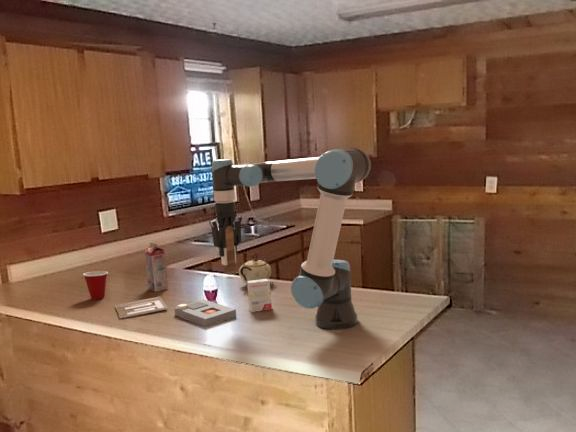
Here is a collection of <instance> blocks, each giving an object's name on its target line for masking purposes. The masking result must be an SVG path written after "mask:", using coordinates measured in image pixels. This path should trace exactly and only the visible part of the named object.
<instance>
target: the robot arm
mask: <svg viewBox="0 0 576 432" xmlns="http://www.w3.org/2000/svg"><path fill="white" fill-rule="evenodd" d="M371 164H372V163H371V160H370V157H369V156H368V154H367V152H365V151H364V150H363V149H360V148H358V147H346V148H335V149H331V150H328V151H326V152H323V154H321V155H320V156H313V157H311V156H310V157H303V158H293V159H282V160H267V161H262V162H256V163H248V164H233V160H232V159H230V158H228V159H227V158H224V159H215V160H213V161H212V162H211V169H212V170H211V174H212V184H213V199H214V202H215V203H214V211H215V217H214V219H213V220H210V221H209V223H208V224H209V225H210V227H211V234H212V240H213V247H215V248H218V253H219V257H220V259H221V265H222V266H223V265H227V251H226V248H225V247H224V245H225V229H227V226H230V225H231V226H232V227H233V235H234V250H235V264H237V253H238V246H239V244H240V243H241V242H242V220H243V217H242V216H239V215H237V214H236V202H235V200H236V197H235V186H236V187H257V186H259V184H263V183H270V182H271V183H273V182H285V181H286V182H287V181H300V180H312V179H313V180H315V179H316V182H317V187H316V188H317V190H318V191H319V193H320V196H319V200H318V201H319V202H318V205H317V210H316V216H315V220H314V225H313V229H312V234H311V239H310V245H309V250H308V253H307V257H306V258H307V259H306V260H305V261H304V262H302V263H301V265H300V268H299V269H300V270H299V273H298V275H297V276H296V277H294V279H293V280H292V282H291V284H290V290H291V296H292V297H293V298H294V301H295V303H297V304H298V305H299V306H300V307H302V308H305V309H308V310H309V309H314V308H317V309H316V310H317V311H316V315H315V317H314V318H315V325H316V326H317V327H319V328H321V329H326V330H342V329H349V328H352V327H353V326H356V325H357V324H358V314H357V313H356V311H355V310H356V309H355V307H354V304H353V301H352V282H351V281H352V279H351V266H350V263H349V261H348V260H343V259H335V254H336V249H337V246H338V240H339V237H340V236H339V235H340V232H341V227H342V222H343V218H344V213H345V209H346V205H347V200H348V199H349V198H350V197H352V196H353V195H354V190H355V187H356V184H357V183H359V182H362V181H363V180H364V179H366V178H367V177H368V175H369V174H370V171H371V167H372V165H371Z"/></svg>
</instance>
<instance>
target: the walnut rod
mask: <svg viewBox="0 0 576 432" xmlns="http://www.w3.org/2000/svg"><path fill="white" fill-rule="evenodd" d="M224 247H225V248H226V251H227V265H222V272H223V273H222V274H226V275H231V274H236V273H237V266H236V264H237V263H235V250H234V235H233V227H232V226H231V225H230V226H227V229H225V245H224Z"/></svg>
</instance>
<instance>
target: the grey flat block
mask: <svg viewBox="0 0 576 432" xmlns="http://www.w3.org/2000/svg"><path fill="white" fill-rule="evenodd" d="M209 310H215V311H216V312H214V313H211V314H206V313H205V312H206V311H209ZM174 316H177V317H179V318H182V319H184V320H187V321H189V322H192V323H195V324H197V325H199V326H202V327H205V328H206V327H210V326H214V325H216V324H219V323H222V322H226V321H229V320H231V318H232V319H235V318H237V309H235V308H232V307H229V306H226V305H223V304H220V303H216V302H213V301H211V300H207V299H201V300H198V301H194V302H191V303H187V304H186V303H181V304H178V305H177V306H176V307H174ZM234 317H235V318H234ZM228 319H229V320H228ZM225 320H226V321H225Z"/></svg>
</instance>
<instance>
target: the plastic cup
mask: <svg viewBox="0 0 576 432" xmlns="http://www.w3.org/2000/svg"><path fill="white" fill-rule="evenodd" d="M108 274H109V272H108V271H105V270H101V271H100V270H96V271H95V270H94V271H87V272H84V273H83V275H82V276H83V277H84V280H85V283H86V287H87V289H88V293H89V295H90V299H91V300H93V301H97V300H102V299H105V296H106V283H107V276H108Z"/></svg>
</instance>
